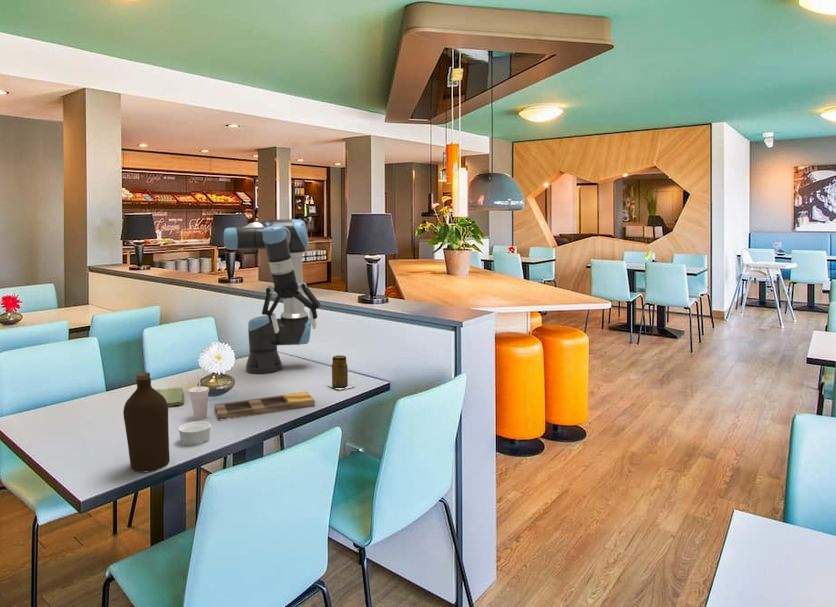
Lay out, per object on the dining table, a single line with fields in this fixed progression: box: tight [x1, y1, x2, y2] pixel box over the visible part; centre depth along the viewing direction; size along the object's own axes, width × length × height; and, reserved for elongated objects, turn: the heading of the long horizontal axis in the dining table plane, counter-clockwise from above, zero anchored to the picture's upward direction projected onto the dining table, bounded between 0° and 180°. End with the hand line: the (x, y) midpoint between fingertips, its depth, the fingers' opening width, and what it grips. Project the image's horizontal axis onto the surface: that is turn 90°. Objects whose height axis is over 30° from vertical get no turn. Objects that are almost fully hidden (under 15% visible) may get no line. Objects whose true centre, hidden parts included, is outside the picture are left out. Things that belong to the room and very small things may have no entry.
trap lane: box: [214, 391, 316, 421], centre depth 195 cm, size 11×32×2 cm, turn 115°
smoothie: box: [188, 375, 210, 420], centre depth 185 cm, size 6×6×14 cm
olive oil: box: [122, 371, 170, 473], centre depth 148 cm, size 11×11×25 cm
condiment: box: [331, 354, 349, 391], centre depth 218 cm, size 7×8×12 cm
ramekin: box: [177, 421, 211, 445], centre depth 167 cm, size 9×9×4 cm
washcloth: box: [155, 387, 186, 408], centre depth 203 cm, size 13×18×3 cm
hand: (296, 329), depth 196 cm, fingers open, 13 cm apart
